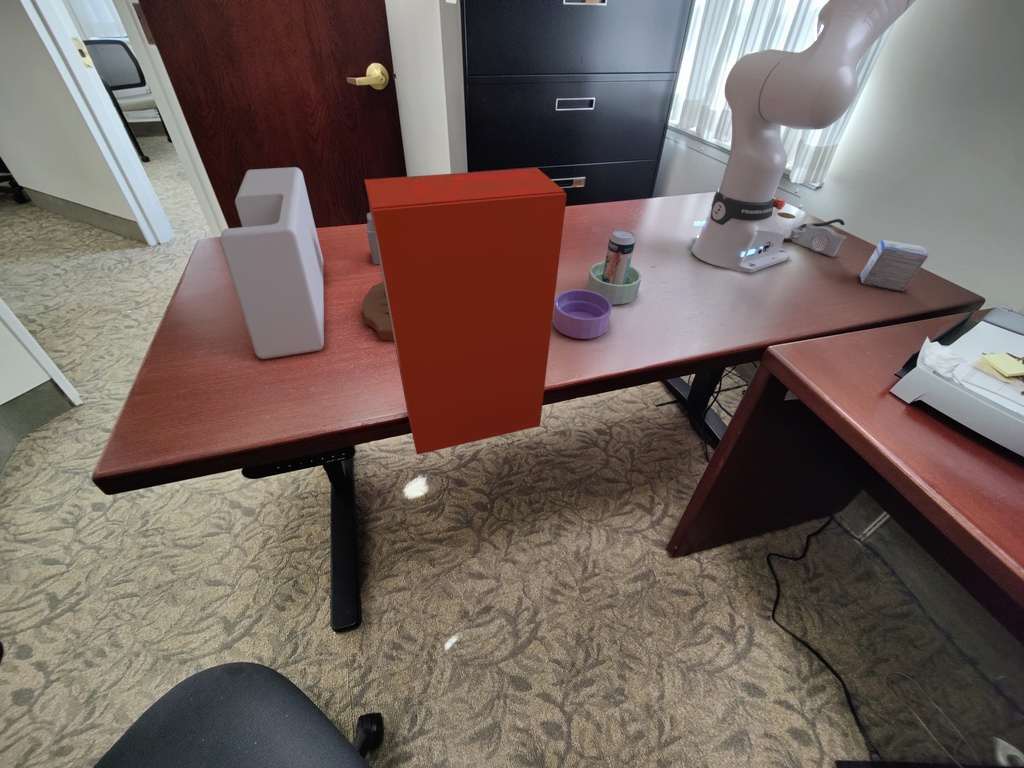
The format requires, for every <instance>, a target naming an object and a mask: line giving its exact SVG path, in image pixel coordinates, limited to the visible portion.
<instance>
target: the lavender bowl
mask: <svg viewBox="0 0 1024 768" xmlns="http://www.w3.org/2000/svg"><path fill="white" fill-rule="evenodd" d="M612 309H613V304H611V302H610V301H609V300H608V299H607V298H606V297H604V296H603V295H601V294H599V293H596V292H593V291H589V290H587V289H577V288H575V289H569V290H564V291H562V292H560V293H559V294H558V295H556V296H555V300H554V309H553V317H552V325H553V327H554V328H555V329H556V330H557V331H558V332H560V334H562V335H565V336H567V337H570V338H575V339H578V340H579V339H580V340H583V339H586V340H587V339H589V340H590V339H594V338H598V337H601V336H602V335H604V334H605V333H606V332H607V331H608V329H609V323H610V319H611V314H612Z"/></svg>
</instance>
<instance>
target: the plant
mask: <svg viewBox="0 0 1024 768" xmlns="http://www.w3.org/2000/svg"><path fill="white" fill-rule="evenodd" d="M362 309H363V316H364V321H365V324H366V326H368V327H370V328H372V329H374V330H375V331H376V333H377V335H378V336H379V339H380V341H388V342H394V337H393V331H392V326H391V320H390V315H389V310H388V304H387V299H386V293H385V288H384V282H383V281H381V282H379V283H377V284H374V285H372V286H371V288H370V289H369V291H368V292H367V294H366V295H365V296H364V298H363V301H362Z"/></svg>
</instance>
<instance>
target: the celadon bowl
mask: <svg viewBox="0 0 1024 768" xmlns="http://www.w3.org/2000/svg"><path fill="white" fill-rule="evenodd" d="M604 265H605V261H602V262H597V263H595V264H593V265H592V266H591V267H590V268H589V271H588V277H587V283H586V284H587V285H586V290H589V291H593V292H596V293H599V294H601V295H603V296H604V297H606V298H607V299H608V300H609V301H610V302H611V305H623V304H628V303H631V302H634V300H635V299H636V298H637V297H638V293H639V290H640V286H641V282H642V273H641V271H639V270H638V269H637V268H636V267H634V266H633V265H630V267H629V271H628V275H627V280H626V284H625V285H615V284H609V283H606V282H603V281H602V276H603V271H604Z"/></svg>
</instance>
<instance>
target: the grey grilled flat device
mask: <svg viewBox="0 0 1024 768" xmlns="http://www.w3.org/2000/svg"><path fill="white" fill-rule="evenodd" d="M806 224H807V225H806V227H805V230H803V231H800V230H798V228H796V227H793V228H792V229H791V230H790V231H791V232H790V234H789V236H788V238H790V239H791V240H792V242H791V243H795V244H798V245H800V246H802V247H805V248H808V249H810V250H812V251H813V252H817V253H821V254H824V255H826V256H828V257H835V256H836V255H837V252H838V250H839V249H840V247H841V245H842V243H843V242H844V240H846V239H847V236H846V235H843V234H839V233H838V232H836V231H835V230H834V229H833V228H831V227H829V226H826V225H825V226H819V227H816V226H813V225H811V223H809V222H807V223H806ZM799 236H800V237H799ZM796 237H797V238H798V239H797V238H796ZM792 238H796V239H792Z"/></svg>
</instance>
